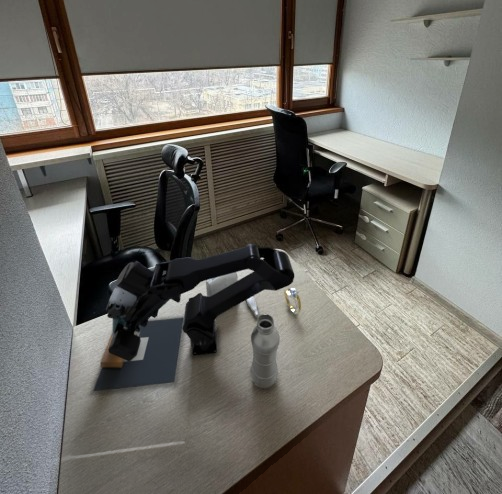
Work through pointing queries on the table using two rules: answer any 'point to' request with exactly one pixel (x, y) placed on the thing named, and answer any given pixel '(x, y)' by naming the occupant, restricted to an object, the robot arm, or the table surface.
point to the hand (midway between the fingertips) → (115, 334)
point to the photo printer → (220, 283)
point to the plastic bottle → (264, 352)
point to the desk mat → (148, 358)
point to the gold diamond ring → (293, 295)
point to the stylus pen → (252, 305)
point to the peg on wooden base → (109, 359)
